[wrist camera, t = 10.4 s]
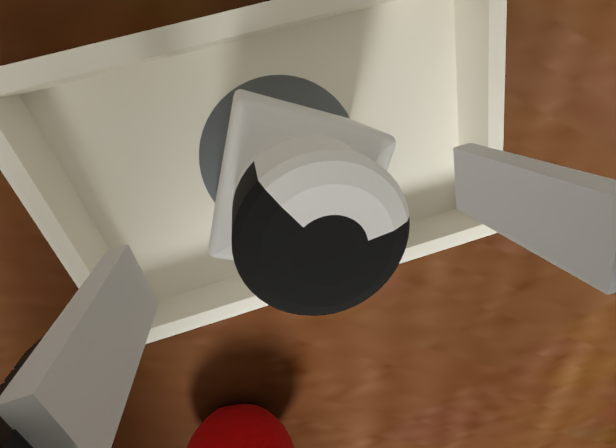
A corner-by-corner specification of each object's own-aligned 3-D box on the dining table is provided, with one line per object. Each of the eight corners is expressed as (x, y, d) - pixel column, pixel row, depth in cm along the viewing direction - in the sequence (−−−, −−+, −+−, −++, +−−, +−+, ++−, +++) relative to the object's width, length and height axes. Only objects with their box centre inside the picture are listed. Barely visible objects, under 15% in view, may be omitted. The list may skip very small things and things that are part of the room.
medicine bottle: (320, 222, 24) (392, 347, 13) (214, 204, 22) (194, 334, 11) (350, 118, 21) (472, 165, 10) (234, 87, 19) (235, 105, 8)
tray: (137, 311, 25) (120, 352, 21) (0, 79, 18) (-59, 80, 14) (465, 210, 27) (501, 231, 23) (458, -34, 20) (508, -58, 16)
